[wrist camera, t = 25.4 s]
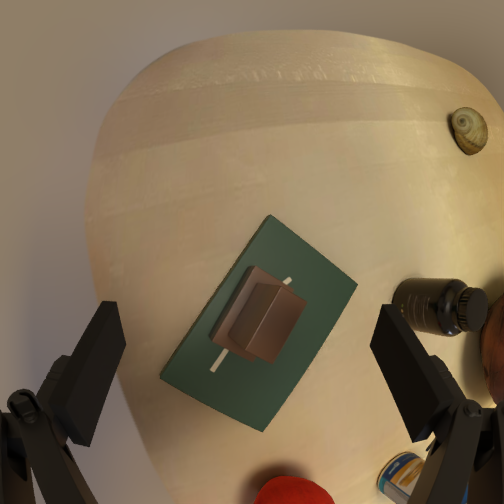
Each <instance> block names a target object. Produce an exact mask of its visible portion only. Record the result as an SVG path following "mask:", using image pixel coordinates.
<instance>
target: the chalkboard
mask: <svg viewBox="0 0 504 504" xmlns="http://www.w3.org/2000/svg"><path fill="white" fill-rule="evenodd" d="M254 265H256V266H257V267H259V268H261V269H262V270H264V271H265V272H267V273H269V274H270V275H272V276H273V277H275V278H277V279H278V280H280V281H282V282H283V283H285V284H286V285H288V286H290V287H291V288H293V289H294V291H293V293H294V294H295V295H297V296H299V297H300V298H302V299H304V300H305V301H307V304H306V306H305V308H304V310H303V311H302V313H301V315H300V317H299V319H298V321H297V323H296V324H295V326H294V328H293V330H292V332H291V333H290V335H289V337H288V339H287V340H286V342H285V344H284V346H283V348H282V349H281V351H280V353H279V355H278V356H277V358H276V360H275V361H274V363H273V364H271V363H269V362H267V361H265V360H263V359H261V358H259V357H256V358H255V360H254V362H251V361H249V360H247V359H245V358H243V357H241V356H239V355H237V354H235V353H233V352H231V351H229V350H227V349H225V348H223V347H221V346H220V345H218V344H216V343H214V342H212V341H211V339H210V338H209V336H208V335H209V333H210V331H211V330H212V328H213V326H214V325H215V323H216V321H217V319H218V318H219V316H220V314H221V312H222V311H223V309H224V307H225V305H226V304H227V302H228V300H229V299H230V297H231V295H232V293H233V292H234V290H235V288H236V286H237V285H238V283H239V281H240V279H241V278H242V276H243V274H244V272H245V271H246V269H247V267H248V266H254ZM357 285H358V284H357V283H356V282H355V281H353V280H352V279H351V278H350V277H349V276H347V275H346V274H345V273H344V272H342V271H341V270H340V269H339V268H338V267H336V266H335V265H334V264H333V263H331V262H330V261H329V260H328V259H327V258H325V257H324V256H323V255H322V254H320V253H319V252H318V251H317V250H315V249H314V248H313V247H312V246H310V245H309V244H308V243H307V242H305V241H304V240H303V239H302V238H300V237H299V236H298V235H296V234H295V233H294V232H293V231H291V230H290V229H289V228H288V227H286V226H285V225H284V224H282V223H281V222H280V221H279V220H277V219H276V218H275V217H274V216H272V215H268V216H267V217H266V218H265V220H264V221H263V223H262V224H261V226H260V227H259V228H258V230H257V231H256V233H255V234H254V236H253V237H252V239H251V240H250V242H249V243H248V245H247V246H246V247H245V249H244V250H243V252H242V253H241V255H240V256H239V258H238V259H237V261H236V262H235V264H234V265H233V266H232V268H231V269H230V271H229V272H228V274H227V275H226V277H225V278H224V280H223V281H222V283H221V284H220V286H219V287H218V289H217V290H216V291H215V293H214V294H213V296H212V297H211V299H210V300H209V302H208V303H207V305H206V306H205V308H204V309H203V311H202V312H201V314H200V315H199V317H198V318H197V319H196V321H195V322H194V324H193V325H192V327H191V328H190V330H189V331H188V333H187V334H186V336H185V337H184V339H183V340H182V342H181V343H180V345H179V346H178V348H177V349H176V351H175V352H174V354H173V355H172V356H171V358H170V359H169V361H168V362H167V364H166V365H165V367H164V368H163V370H162V371H161V373H160V379H162V380H164V381H165V382H167V383H169V384H170V385H172V386H174V387H175V388H177V389H179V390H181V391H182V392H184V393H186V394H188V395H189V396H191V397H193V398H195V399H197V400H198V401H200V402H202V403H204V404H206V405H208V406H210V407H211V408H213V409H215V410H217V411H219V412H221V413H223V414H225V415H227V416H229V417H231V418H233V419H235V420H237V421H239V422H241V423H243V424H245V425H248V426H250V427H252V428H254V429H256V430H258V431H261V432H263V431H264V430H265V428H266V427H267V426H268V424H269V423H270V422H271V420H272V419H273V418H274V416H275V415H276V413H277V412H278V411H279V409H280V408H281V406H282V405H283V404H284V402H285V401H286V399H287V398H288V396H289V395H290V394H291V392H292V391H293V389H294V388H295V386H296V385H297V383H298V382H299V380H300V379H301V377H302V376H303V374H304V373H305V371H306V370H307V368H308V367H309V365H310V364H311V362H312V361H313V359H314V357H315V356H316V354H317V353H318V351H319V350H320V348H321V346H322V345H323V343H324V342H325V340H326V338H327V337H328V335H329V333H330V332H331V330H332V329H333V327H334V325H335V324H336V322H337V320H338V319H339V317H340V315H341V313H342V312H343V310H344V308H345V307H346V305H347V303H348V301H349V300H350V298H351V296H352V294H353V293H354V291H355V289H356V287H357Z"/></svg>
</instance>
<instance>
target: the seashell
mask: <svg viewBox="0 0 504 504" xmlns="http://www.w3.org/2000/svg"><path fill="white" fill-rule="evenodd" d="M452 126H453V128H454V130H455V138H456V141H457V143H458V145H459V146H460V147H461V149H462V150H463V151H464V152H465V153H466V154H469V155H473V154H476V153H478V152H479V151H481V150H482V149H483V147H484V146H485V145H486V143H487V139H488V129H487V125H486V122H485V120H484V118H483V117H482V116H481V115H480V113H478V112H477V111H475V110H474V109H472V108H468V107H463V108H459V109H458V110H456V111H455V112H454V114H453V115H452Z"/></svg>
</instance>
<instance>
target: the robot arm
mask: <svg viewBox="0 0 504 504" xmlns="http://www.w3.org/2000/svg"><path fill="white" fill-rule="evenodd" d="M125 346H126V341H125V337H124V333H123V329H122V325H121V321H120V316H119V312H118V307H117V302H113V301H102V302H101V304H100V306H99V307H98V309H97V311H96V313H95V314H94V316H93V318H92V319H91V321H90V323H89V325H88V326H87V328H86V330H85V332H84V333H83V335H82V337H81V339H80V340H79V342H78V344H77V346H76V348H75V349H74V352H73V353H72V355H71V356H66V355H62V356H61V357H60V358H58V359H57V360H56V361H55V362H54V364H53V365H52V367H51V369H50V372H49V373H48V374H47V376H46V379H45V380H44V382H43V384H42V385H41V387H40V389H39V391H38V393H37V395H36V396H35V395H34V393H33V392H32V391H30V390H27V389H21V390H17V391H16V392H14V393H13V394H12V395H11V396H10V397H9V399H8V401H7V407H8V408H9V410H10V412H11V413H2V412H1V410H0V504H36V502H35V496H34V490H33V482H32V475H31V468H32V470H33V473H34V476H35V478H36V481H37V483H38V486H39V488H40V490H41V493H42V495H43V498H44V500H45V502H46V504H98V502H97V501H96V499H95V497H94V496H93V494H92V492H91V490H90V488H89V487H88V485H87V483H86V481H85V479H84V477H83V476H82V474H81V472H80V470H79V468H78V466H77V464H76V462H75V460H74V458H73V456H72V454H71V451H70V450H69V447H68V445H67V444H66V441H67V438H68V436H69V438H70V439H71V441H72V442H73V443H74V444H78V445H83V446H87V447H90V444H91V441H92V438H93V435H94V432H95V429H96V425H97V423H98V420H99V417H100V414H101V411H102V408H103V405H104V402H105V400H106V397H107V394H108V391H109V388H110V386H111V383H112V380H113V378H114V375H115V372H116V370H117V367H118V364H119V362H120V359H121V357H122V354H123V351H124V349H125ZM370 348H371V350H372V352H373V354H374V356H375V358H376V360H377V363H378V365H379V367H380V369H381V371H382V373H383V376H384V378H385V380H386V382H387V384H388V387H389V389H390V391H391V393H392V396H393V398H394V400H395V402H396V405H397V407H398V409H399V412H400V414H401V416H402V419H403V421H404V423H405V426H406V428H407V431H408V433H409V435H410V438H411V440H412V443H414V442H418V441H422V440H426V439H428V437H429V436H430V435H431V433H432V432H434V434H435V439H434V440H433V441H432V442H431V444H430V445H429V446H428V448H427V449H426V451H428V450H429V449H430V450H429V453H428V455H427V458H426V461H425V463H424V466H423V468H422V470H421V473H420V475H419V478H418V480H417V482H416V484H415V487H414V489H413V491H412V493H411V495H410V497H409V500H408V502H407V504H461V503H462V500H463V497H464V494H465V491H466V488H467V485H468V494H467V504H504V400H503V401H501V402H499V403H498V405H497V406H496V407H495V408H482V407H481V406H480V405H479V404H478V403H477V402H475V401H474V400H469V399H466V397H465V396H464V394H463V392H462V391H461V389H460V387H459V386H458V384H457V382H456V381H455V379H454V378H453V377H452V374H451V373H450V371H448V368H447V366H446V365H445V363H444V362H443V361H442V360H441V359H440V358H438V357H437V356H436V355H433V356H429V355H428V353H427V352H426V350H425V348H424V347H423V345H422V344H421V342H420V341H419V339H418V338H417V336H416V335H415V333H414V331H413V330H412V328H411V327H410V325H409V324H408V322H407V321H406V319H405V318H404V316H403V315H402V313H401V312H400V310H399V309H398V308H397V306H396V305H395V304H382V307H381V310H380V314H379V317H378V320H377V324H376V327H375V330H374V334H373V337H372V340H371V343H370Z"/></svg>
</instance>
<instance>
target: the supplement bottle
mask: <svg viewBox="0 0 504 504" xmlns="http://www.w3.org/2000/svg"><path fill="white" fill-rule="evenodd" d="M393 304H395V305H396V306H397V308H398V309H399V310H400V312H401V313H402V315H403V316H404V318H405V319H406V321H407V322H408V324H409V325H410V327H411V328H412V330H415V331H420V332H425V333H430V334H435V335H441V336H446V337H453V336H456V335H458V334H459V333H461V332H462V331H464V332H467V331H469V332H477V331H478V330H479V329H481V327H482V326H483V324H484V323H485V320H486V317H487V313H488V299H487V296H486V293H485V292H484V291H483V290H482V289H480V288H472V287H468V286H467V285H466V284H465V283H464V282H463V281H461V280H459V279H442V278H412V279H408V280H406V281H404V282H403V283H402V284H401V285H400V286H399V288H398V289H397V291H396V293H395V296H394V300H393Z"/></svg>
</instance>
